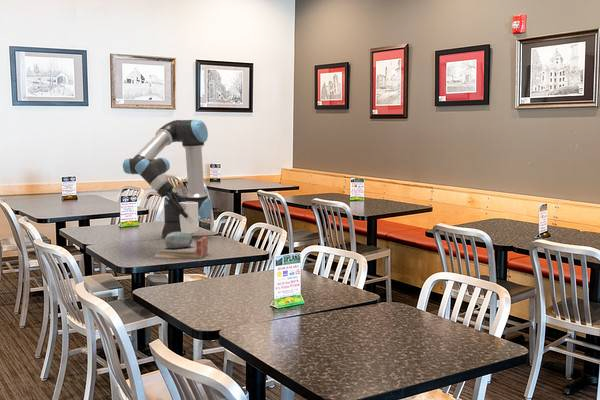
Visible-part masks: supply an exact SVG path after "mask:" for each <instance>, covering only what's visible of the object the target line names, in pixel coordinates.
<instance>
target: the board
mask: <svg viewBox="0 0 600 400" xmlns="http://www.w3.org/2000/svg"><path fill="white" fill-rule="evenodd" d="M208 239H209V238H208V236H202V237H201V238H199V239H198V240H196V241H195V242H196V243H195V245H196V248H195V249H196V250H173V249H171V250H170V249H168V250H167V249H165V250H164V249H163V250H161V251H159V252H158V253H156V254H154V258H162V259H163V258H164V259H165V258H166V259H172V258H173V259H199V260H201V259H202V258H204V257H206V255H208V254H209V249H208V248H209V246H208V241H209V240H208Z"/></svg>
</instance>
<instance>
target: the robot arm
mask: <svg viewBox="0 0 600 400" xmlns="http://www.w3.org/2000/svg"><path fill="white" fill-rule="evenodd" d="M208 131H209V130H208V128H207V125H206V123H205V122H204V121H202V120H199V119H176V120H172V121H171V120H170V122H167V123H165V124H164V125H162V126H161V127H160V128H159V129H157V131H156V132H155V135H154V137H152V138H151V140H150V141H148V143H146V144H145V146H144V147H142V148H141V149H140V150H139V151H138V152H137V154H135V155H134V157H133V158H130V157H129V158H126V159H124V161H122V169H123V172H124V173H125V174H127V175H139V176H140V177H141V178H143V180H144V181H145V182H146V183H148V185H149V186H150V187H151V189H152V190H153V191H155V192H156V193H157V194H158V196H160V197H161V198H164V199H163V200H164V202H163V213H164V215H163V216H164V217H163V219H164V224H163V228H162V230H161V238H162V239H165V238H166V236H167V235H168V234H169V233H172V232H181V227H180V216H179V215H180V214H181V215H182V216H183V217H184V218H185V219H186V220H187V221H188V222H189V223H190V224H192V223H193V221H194V219H193V218H192V217H191V216H190V215H189V214H188V213H187V212H186V210H184V209H183V208H182V207H181V205H180V204H179V203H180V202H198V221H201V220H207V219H209V217H210V216H211V213H212V210H213V202H212V199H211V198H209V197H208V194H207V193H206V191H205V181H204V168H203V167H204V166H203V165H204V164H203V153H202V152H203V151H202V150H203V149H202V148H203V147H204V146H205V142H207V140H208V136H209V133H208ZM177 142H179V143H181V146H182V147H183V148H184V149H185V160H186V161H185V162H186V163H185V164H186V177H187V178H186V179H187V191H188V192H187V194H186V195H185V194H179V192H178V191H176V192H175V191H173V189H174V186H173V185H172V183H171V182H170V181H168V179H167V178H166V177H165V176H164V175H163V174H165V173H167V172H168V171H169V169H170V166H171V165H170V161H169V160H168V159H167V158H166V157H158V158H156V157H157V156H158V155H159V154H160V153H161V152H162V150H164V148H166V147H168V146H170V145H171V144H172V143H177Z"/></svg>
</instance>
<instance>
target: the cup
mask: <svg viewBox="0 0 600 400" xmlns="http://www.w3.org/2000/svg"><path fill="white" fill-rule="evenodd" d="M179 204H180V205H181V207H182V208H183V209H184V210H186V212H187V213H188V214H189V215H190V216H191V217H192V218H193V219H194V221H193V223H192V224H190V223H189V222H188V221H187V220H186V219H185V218H184V217H183V216H182V215H181V214H180V215H179V216H180V227H181V233H182V234H188V235H189V234H191V235H195V234H196V233H197V232H198V231H197V230H198V223H199V220H198V202H180V203H179Z"/></svg>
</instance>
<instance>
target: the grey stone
mask: <svg viewBox="0 0 600 400" xmlns="http://www.w3.org/2000/svg"><path fill="white" fill-rule="evenodd" d="M192 241H193V234H189V235H188V234H182V233H181V232H172V233H169V234H168V235H167V236H166V238H164V244H165V246H166V248H168V249H182V248H188V247H190V246H191V244H193V243H192Z"/></svg>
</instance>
